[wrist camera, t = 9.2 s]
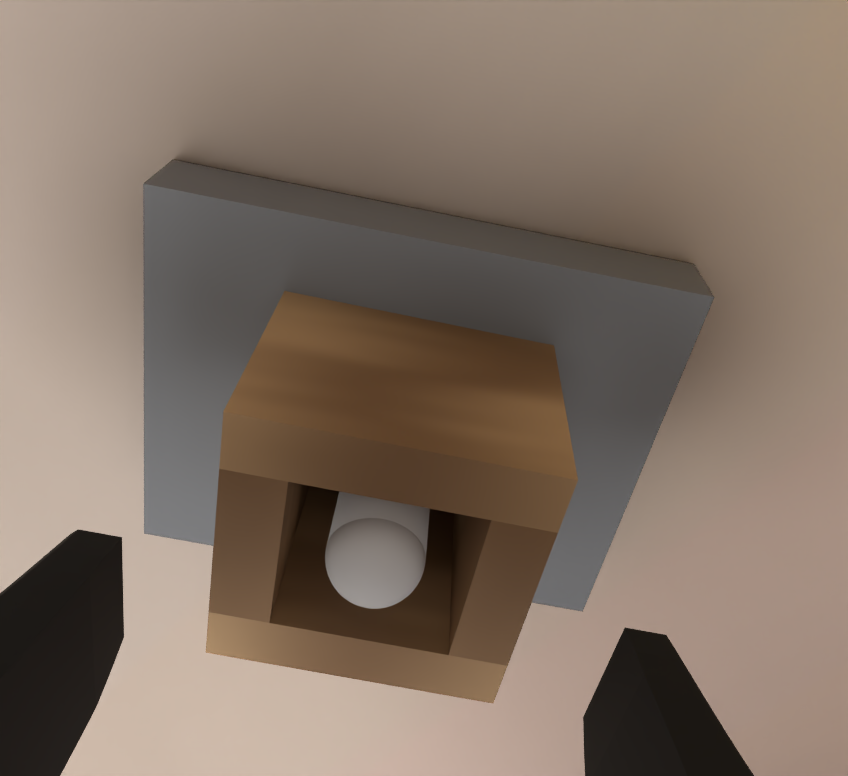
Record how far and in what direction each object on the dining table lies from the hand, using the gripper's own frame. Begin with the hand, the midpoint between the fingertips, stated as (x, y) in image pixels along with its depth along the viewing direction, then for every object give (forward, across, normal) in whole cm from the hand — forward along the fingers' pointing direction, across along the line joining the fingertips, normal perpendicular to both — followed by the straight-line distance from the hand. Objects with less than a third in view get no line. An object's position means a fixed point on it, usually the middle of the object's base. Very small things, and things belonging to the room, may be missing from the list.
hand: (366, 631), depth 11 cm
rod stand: (+7, 0, 0) cm, 7 cm away
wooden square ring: (+5, 0, 0) cm, 5 cm away
